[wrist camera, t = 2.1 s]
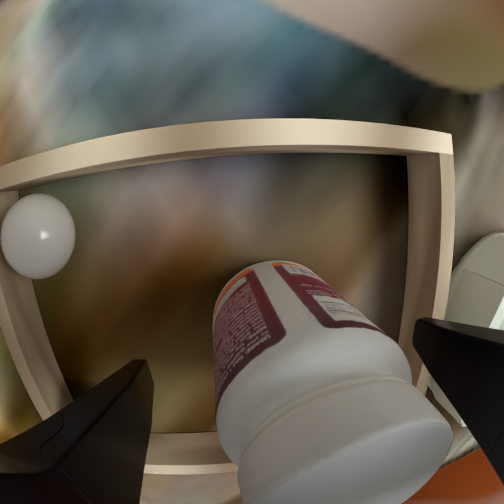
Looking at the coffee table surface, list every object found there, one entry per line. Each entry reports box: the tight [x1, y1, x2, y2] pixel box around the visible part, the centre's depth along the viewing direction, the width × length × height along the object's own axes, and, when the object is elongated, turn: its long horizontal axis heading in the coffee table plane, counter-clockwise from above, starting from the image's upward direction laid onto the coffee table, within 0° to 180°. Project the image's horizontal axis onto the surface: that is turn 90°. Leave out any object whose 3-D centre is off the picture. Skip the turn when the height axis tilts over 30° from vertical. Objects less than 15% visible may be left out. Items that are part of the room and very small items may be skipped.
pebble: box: [1, 193, 75, 279], centre depth 8 cm, size 3×3×3 cm
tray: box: [0, 119, 455, 474], centre depth 10 cm, size 18×14×2 cm
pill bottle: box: [213, 260, 453, 504], centre depth 7 cm, size 5×5×8 cm
